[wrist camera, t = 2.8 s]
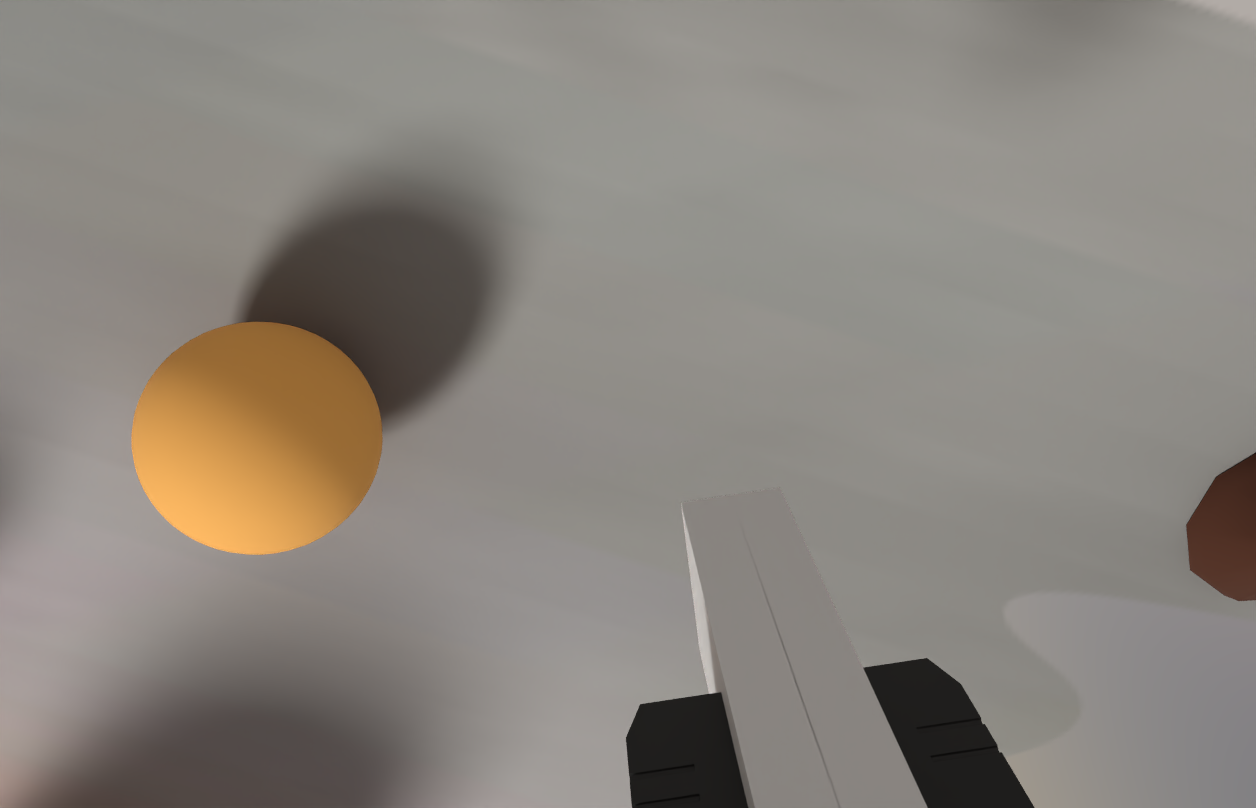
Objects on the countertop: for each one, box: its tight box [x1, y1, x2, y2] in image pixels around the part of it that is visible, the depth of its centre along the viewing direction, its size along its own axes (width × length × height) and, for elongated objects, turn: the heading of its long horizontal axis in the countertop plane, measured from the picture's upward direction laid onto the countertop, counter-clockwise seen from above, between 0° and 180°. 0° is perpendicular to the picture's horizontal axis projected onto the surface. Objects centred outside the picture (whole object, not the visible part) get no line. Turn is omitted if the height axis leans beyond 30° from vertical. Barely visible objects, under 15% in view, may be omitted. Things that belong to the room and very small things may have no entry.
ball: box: [132, 322, 382, 555], centre depth 22 cm, size 6×6×6 cm
